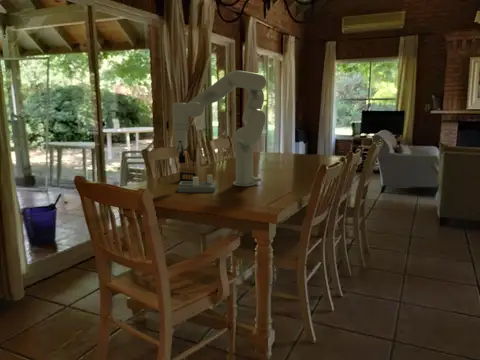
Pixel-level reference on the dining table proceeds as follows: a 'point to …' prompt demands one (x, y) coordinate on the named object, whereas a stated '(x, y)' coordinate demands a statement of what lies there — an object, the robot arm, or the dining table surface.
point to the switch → (195, 181)
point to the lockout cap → (185, 157)
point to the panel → (196, 187)
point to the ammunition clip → (187, 172)
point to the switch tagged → (209, 179)
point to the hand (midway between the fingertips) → (183, 161)
